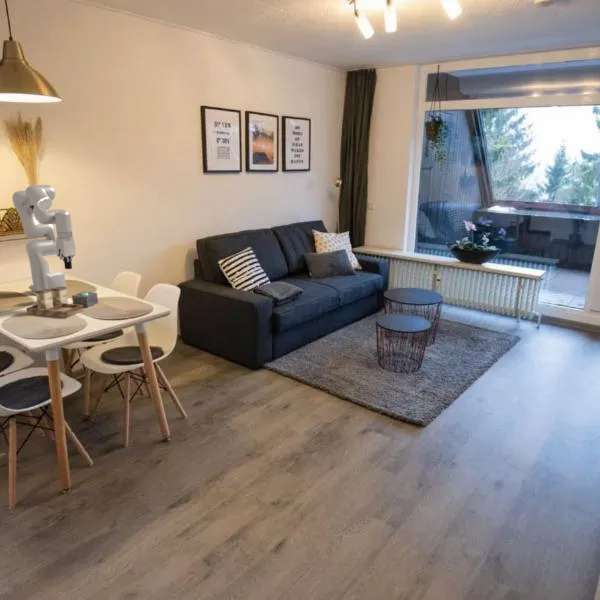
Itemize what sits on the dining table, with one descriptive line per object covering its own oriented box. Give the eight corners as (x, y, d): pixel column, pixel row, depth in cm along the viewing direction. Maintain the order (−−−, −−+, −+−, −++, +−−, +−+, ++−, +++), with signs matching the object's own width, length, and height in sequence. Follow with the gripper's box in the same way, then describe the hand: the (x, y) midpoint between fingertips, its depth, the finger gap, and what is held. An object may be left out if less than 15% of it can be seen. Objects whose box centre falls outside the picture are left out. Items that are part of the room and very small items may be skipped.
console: (73, 306, 264) (71, 295, 262) (84, 301, 272) (82, 291, 271) (87, 307, 262) (86, 297, 260) (97, 303, 270) (96, 292, 269)
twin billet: (38, 309, 253) (35, 290, 250) (45, 306, 258) (42, 288, 255) (46, 310, 252) (43, 291, 249) (53, 307, 256) (50, 289, 254)
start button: (79, 302, 265) (78, 294, 264) (84, 300, 269) (83, 292, 268) (86, 303, 264) (85, 294, 263) (90, 301, 268) (89, 292, 267)
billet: (53, 306, 263) (51, 288, 261) (60, 303, 268) (57, 286, 265) (61, 307, 262) (59, 289, 259) (68, 304, 267) (65, 286, 264)
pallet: (27, 313, 250) (26, 308, 249) (45, 306, 262) (44, 301, 262) (66, 317, 245) (66, 312, 244) (83, 310, 257) (83, 305, 256)
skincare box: (64, 297, 280) (60, 271, 275) (68, 300, 275) (65, 273, 271) (48, 300, 274) (45, 273, 270) (52, 302, 269) (49, 275, 265)
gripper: (67, 232, 263) (71, 265, 268) (48, 236, 249) (52, 271, 254) (80, 233, 262) (83, 266, 267) (61, 237, 248) (65, 272, 253)
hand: (68, 268), depth 261 cm, fingers closed
